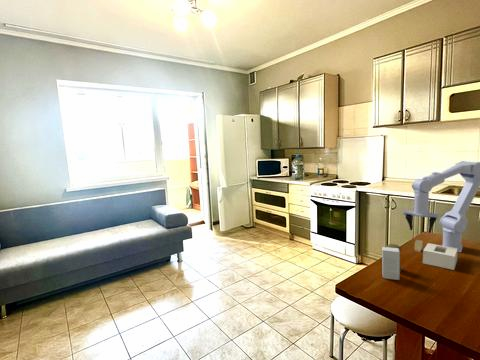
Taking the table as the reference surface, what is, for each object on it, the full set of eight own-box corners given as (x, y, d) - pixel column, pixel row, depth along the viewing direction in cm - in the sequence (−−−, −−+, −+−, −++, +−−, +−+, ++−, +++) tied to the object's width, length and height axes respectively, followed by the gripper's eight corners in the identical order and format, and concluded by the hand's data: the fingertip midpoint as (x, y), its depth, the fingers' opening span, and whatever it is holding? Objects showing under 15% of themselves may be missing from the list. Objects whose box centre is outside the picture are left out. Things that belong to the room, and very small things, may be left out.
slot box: (427, 255, 127) (427, 243, 126) (456, 261, 119) (457, 248, 119) (422, 263, 119) (423, 250, 119) (454, 270, 112) (454, 256, 111)
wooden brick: (416, 248, 136) (416, 239, 135) (422, 249, 134) (422, 240, 134) (414, 250, 133) (414, 242, 132) (420, 252, 131) (420, 243, 130)
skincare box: (398, 275, 110) (398, 248, 108) (399, 280, 106) (400, 252, 105) (381, 273, 113) (382, 246, 111) (382, 278, 109) (382, 250, 107)
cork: (397, 265, 118) (397, 242, 117) (404, 272, 112) (404, 247, 111) (382, 265, 119) (383, 242, 118) (389, 272, 113) (389, 247, 112)
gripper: (402, 204, 131) (401, 230, 133) (438, 207, 121) (437, 235, 123) (405, 201, 136) (404, 226, 138) (440, 204, 126) (439, 231, 128)
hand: (420, 230), depth 131 cm, fingers open, 7 cm apart
